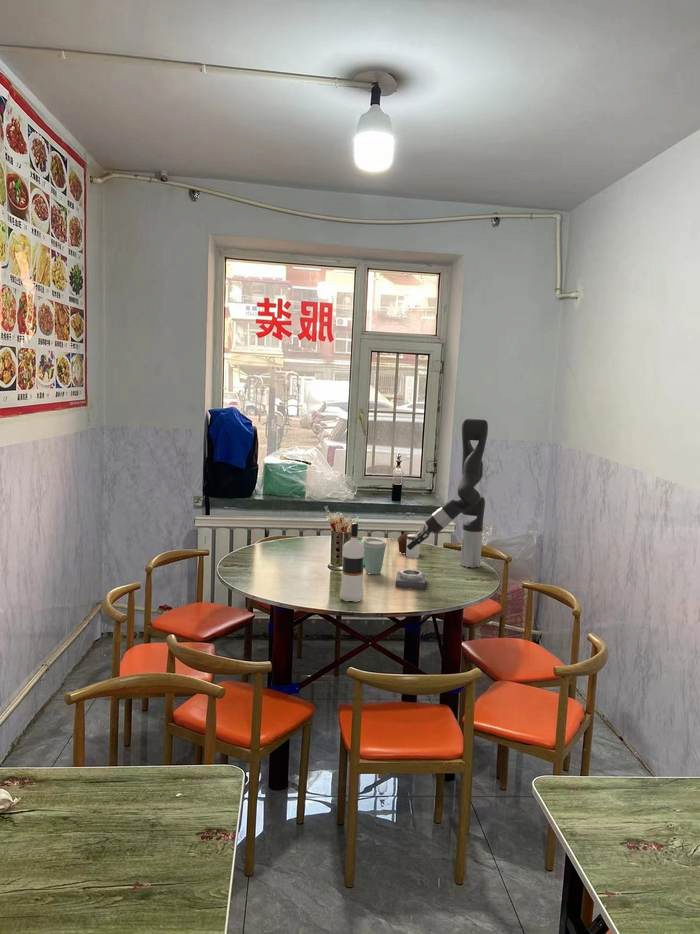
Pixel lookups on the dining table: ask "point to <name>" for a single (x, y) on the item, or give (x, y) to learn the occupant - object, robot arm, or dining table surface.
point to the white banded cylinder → (415, 550)
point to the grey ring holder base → (410, 579)
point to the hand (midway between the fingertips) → (408, 546)
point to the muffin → (403, 542)
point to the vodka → (352, 567)
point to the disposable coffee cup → (374, 555)
